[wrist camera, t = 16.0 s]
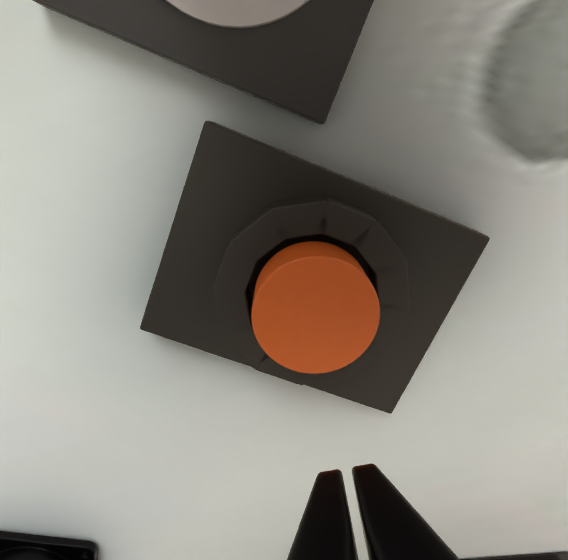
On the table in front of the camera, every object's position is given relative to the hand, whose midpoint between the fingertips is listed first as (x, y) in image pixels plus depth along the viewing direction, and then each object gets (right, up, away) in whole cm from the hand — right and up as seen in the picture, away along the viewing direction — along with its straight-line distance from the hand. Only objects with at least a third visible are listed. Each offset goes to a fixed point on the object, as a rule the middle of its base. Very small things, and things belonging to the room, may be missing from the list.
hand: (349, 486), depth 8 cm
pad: (0, +4, +11) cm, 12 cm away
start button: (0, +3, +9) cm, 9 cm away
